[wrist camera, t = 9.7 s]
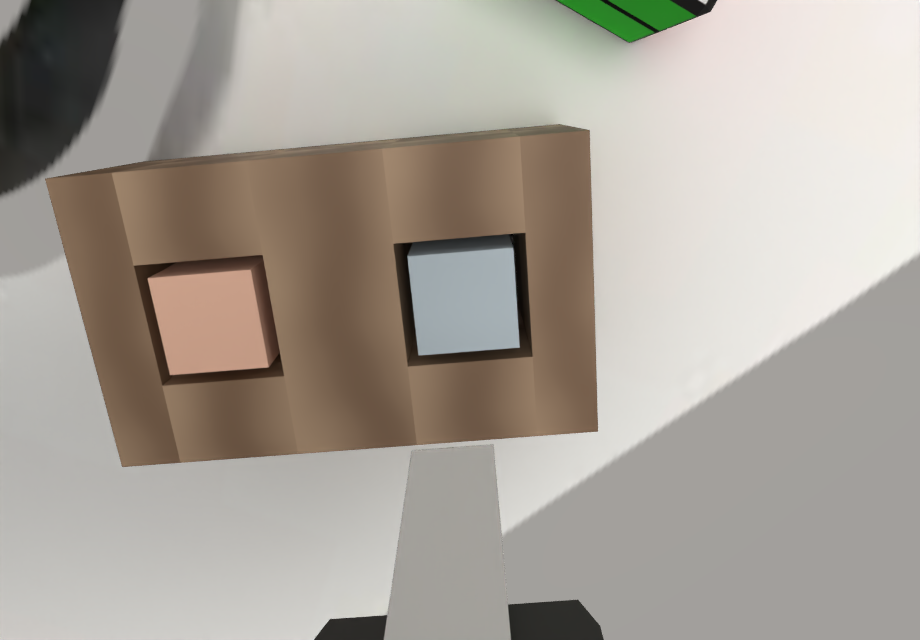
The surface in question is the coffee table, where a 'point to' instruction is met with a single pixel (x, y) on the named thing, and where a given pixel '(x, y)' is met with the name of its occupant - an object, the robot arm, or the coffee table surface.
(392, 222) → the walnut block
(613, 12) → the puzzle cube
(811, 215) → the coffee table surface
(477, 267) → the slate peg
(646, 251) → the coffee table surface
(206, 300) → the terracotta peg
